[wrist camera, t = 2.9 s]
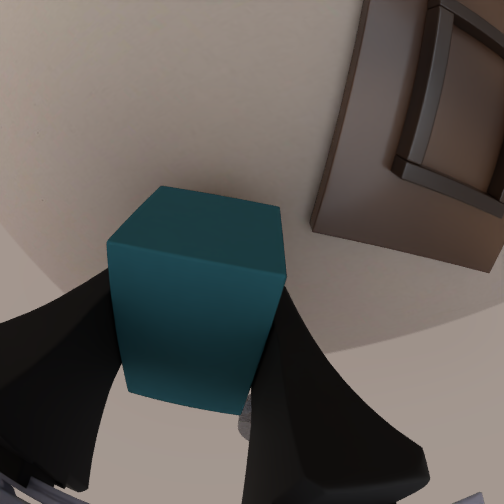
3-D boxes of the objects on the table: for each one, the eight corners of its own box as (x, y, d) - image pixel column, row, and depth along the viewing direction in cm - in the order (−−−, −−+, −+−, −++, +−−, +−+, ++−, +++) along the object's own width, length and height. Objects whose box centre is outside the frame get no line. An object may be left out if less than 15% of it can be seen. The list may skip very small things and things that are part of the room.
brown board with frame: (481, 265, 15) (499, 285, 13) (309, 223, 14) (315, 245, 12) (542, 40, 7) (565, 41, 5) (374, -70, 6) (388, -88, 4)
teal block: (247, 336, 13) (240, 416, 9) (156, 318, 12) (127, 392, 9) (280, 206, 10) (287, 276, 6) (160, 184, 9) (105, 241, 6)
